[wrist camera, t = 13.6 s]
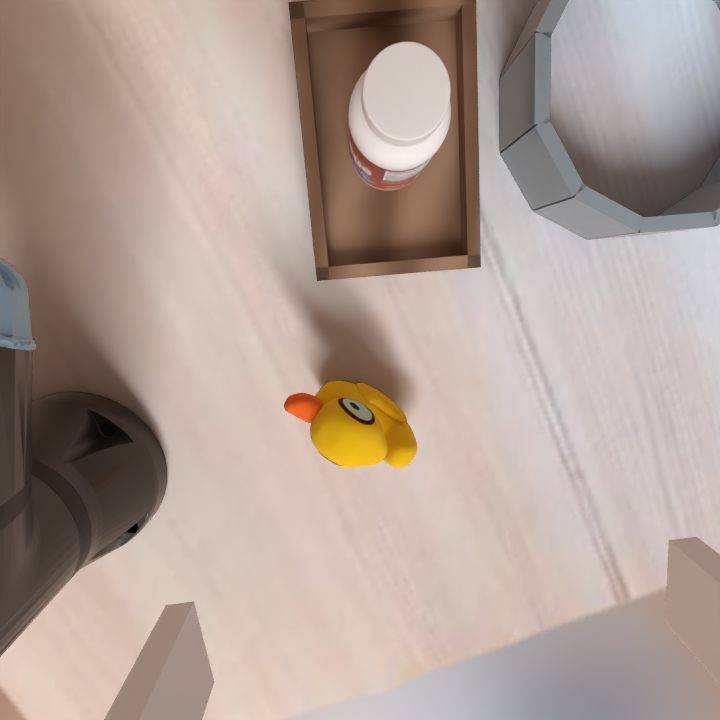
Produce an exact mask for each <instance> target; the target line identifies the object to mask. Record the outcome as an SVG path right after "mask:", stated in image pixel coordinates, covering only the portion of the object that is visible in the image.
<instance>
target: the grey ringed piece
mask: <svg viewBox="0 0 720 720" xmlns="http://www.w3.org/2000/svg"><path fill="white" fill-rule="evenodd" d="M568 1H569V0H539V1H538V2H537V4H536V5H535V7H534V8H533V10H532V12H531V14H530V17H529V19H528V21H527V23H526V25H525V27H524V29H523V31H522V33H521V35H520V37H519V39H518V41H517V43H516V45H515V47H514V49H513V52H512V54H511V56H510V58H509V60H508V62H507V64H506V66H505V68H504V70H503V72H502V74H501V76H500V80H499V114H500V152H502V153H501V156H502V158H503V160H504V161H505V163H506V165H507V167H508V169H509V170H510V172H511V174H512V176H513V177H514V179H515V181H516V183H517V185H518V186H519V188H520V190H521V192H522V193H523V195H524V197H525V199H526V200H527V202H528V204H529V206H530V208H531V209H532V210H533V209H534V212H536V213H537V214H539V215H541V216H543V217H545V218H547V219H549V220H551V221H553V222H554V223H556V224H558V225H560V226H562V227H564V228H566V229H568V230H570V231H571V232H573V233H575V234H577V235H579V236H581V237H583V238H585V239H600V238H612V237H624V236H636V235H648V234H657V233H665V232H673V231H682V230H690V229H699V228H707V227H715V226H718V225H719V224H720V155H719V157H718V159H717V160H716V162H715V164H714V165H713V167H712V169H711V170H710V172H709V173H708V175H707V177H706V178H705V180H704V182H703V183H702V185H701V187H700V188H699V189H697V190H696V191H694V192H693V193H691V194H690V195H688V196H686V197H685V198H683V199H682V200H680V201H679V202H677V203H676V204H674V205H673V206H671V207H670V208H668V209H667V210H665V211H664V212H662V213H661V214H659V215H658V216H655V217H642V216H640V215H638V214H637V213H635V212H633V211H631V210H629V209H627V208H626V207H624V206H622V205H620V204H618V203H616V202H615V201H613V200H611V199H609V198H607V197H605V196H604V195H602V194H600V193H598V192H596V191H594V190H593V189H591V188H589V187H587V186H585V185H584V183H583V182H582V180H581V178H580V176H579V174H578V172H577V170H576V168H575V166H574V165H573V163H572V161H571V159H570V157H569V155H568V153H567V151H566V149H565V148H564V146H563V144H562V142H561V140H560V138H559V136H558V134H557V132H556V131H555V129H554V127H553V125H552V123H551V121H550V79H551V35H552V33H553V31H554V29H555V27H556V25H557V23H558V21H559V19H560V17H561V15H562V13H563V11H564V9H565V7H566V5H567V3H568ZM713 1H715V2H716V3H717V5H718V7H719V9H720V0H713Z"/></svg>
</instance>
